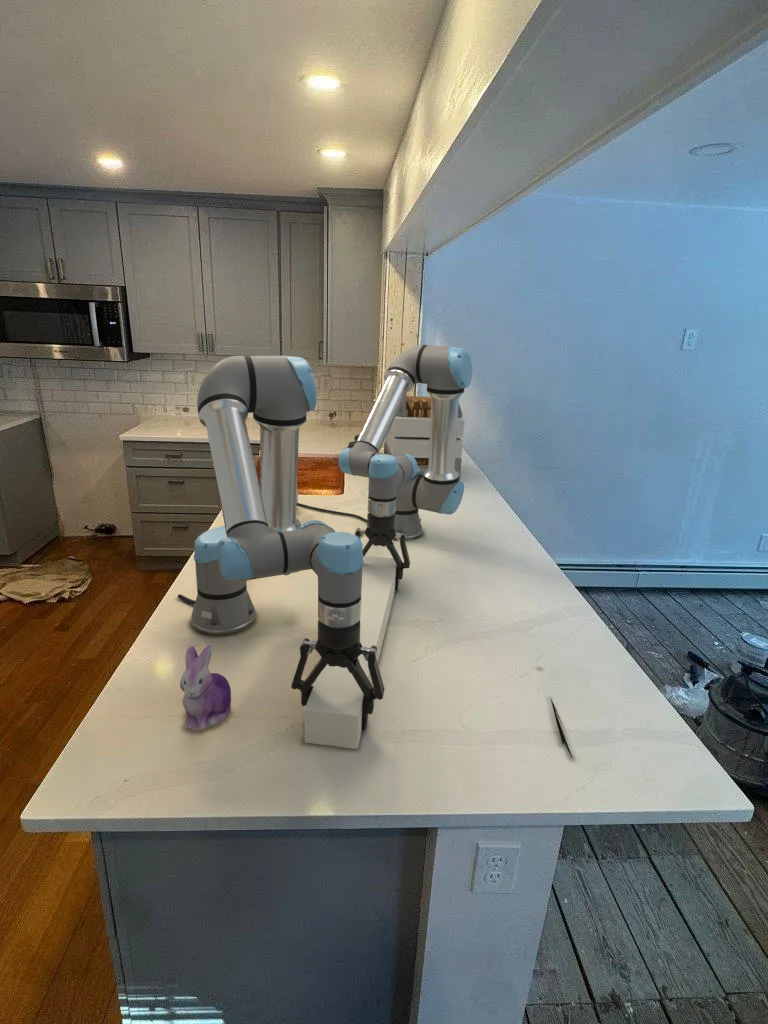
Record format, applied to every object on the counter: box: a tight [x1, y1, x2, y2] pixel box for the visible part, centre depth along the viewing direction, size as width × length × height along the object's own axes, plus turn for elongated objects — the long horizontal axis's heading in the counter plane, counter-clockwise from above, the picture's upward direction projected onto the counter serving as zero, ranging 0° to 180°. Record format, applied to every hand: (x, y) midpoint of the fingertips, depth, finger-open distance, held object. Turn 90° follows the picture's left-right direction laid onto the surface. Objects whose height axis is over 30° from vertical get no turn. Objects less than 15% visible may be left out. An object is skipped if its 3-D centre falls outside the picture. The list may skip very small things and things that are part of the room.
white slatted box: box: [383, 393, 465, 481], centre depth 268 cm, size 34×33×41 cm
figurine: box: [179, 643, 232, 732], centre depth 106 cm, size 9×10×15 cm
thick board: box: [304, 555, 397, 750], centre depth 133 cm, size 67×10×7 cm, turn 173°
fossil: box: [346, 434, 359, 448], centre depth 306 cm, size 22×10×15 cm
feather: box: [539, 666, 573, 758], centre depth 114 cm, size 2×28×2 cm
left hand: (337, 722), depth 107 cm, fingers closed on thick board, 10 cm apart
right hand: (378, 587), depth 160 cm, fingers closed on thick board, 10 cm apart
